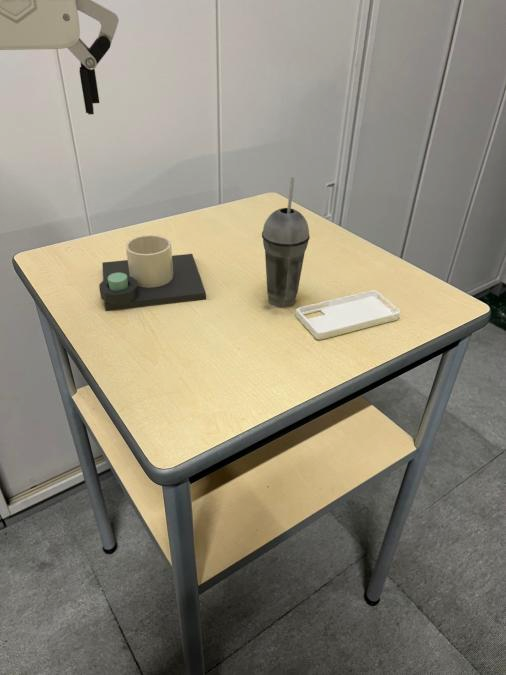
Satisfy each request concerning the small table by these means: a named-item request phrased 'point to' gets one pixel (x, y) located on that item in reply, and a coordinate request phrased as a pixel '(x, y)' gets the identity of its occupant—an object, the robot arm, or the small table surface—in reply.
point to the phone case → (347, 314)
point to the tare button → (117, 281)
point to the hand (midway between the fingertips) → (40, 113)
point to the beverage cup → (284, 253)
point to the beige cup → (150, 260)
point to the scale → (177, 290)
